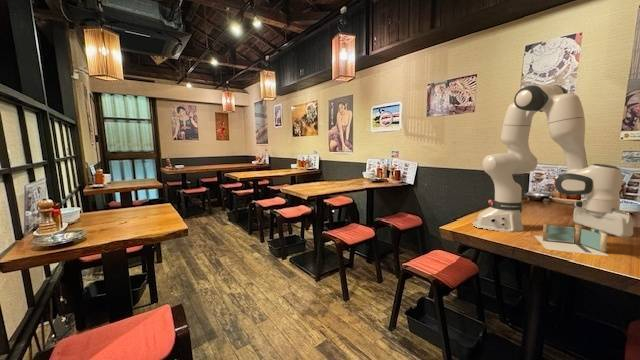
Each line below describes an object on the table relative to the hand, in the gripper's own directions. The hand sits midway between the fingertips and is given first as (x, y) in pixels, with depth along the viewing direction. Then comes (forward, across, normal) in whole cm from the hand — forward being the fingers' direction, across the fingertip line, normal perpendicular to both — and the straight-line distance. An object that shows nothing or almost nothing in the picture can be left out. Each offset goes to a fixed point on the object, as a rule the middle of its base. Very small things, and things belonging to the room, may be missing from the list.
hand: (599, 240), depth 101 cm
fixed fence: (+4, +8, +7) cm, 11 cm away
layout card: (+4, +6, +7) cm, 10 cm away
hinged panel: (+3, 0, +2) cm, 3 cm away
